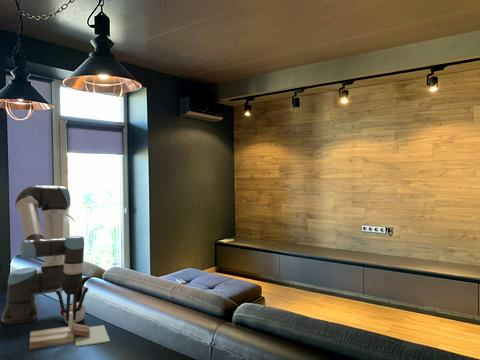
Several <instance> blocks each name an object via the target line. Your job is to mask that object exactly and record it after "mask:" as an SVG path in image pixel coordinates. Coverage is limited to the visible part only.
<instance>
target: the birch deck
mask: <svg viewBox="0 0 480 360" xmlns="http://www.w3.org/2000/svg"><path fill="white" fill-rule="evenodd" d="M29 336H30V337H29V350H32V349H40V348H46V347H52V346H58V345H65V344H72V343H75V338H74V334H72V333H71V329H68V326H61V327H55V328H53V327H52V328H47V329H39V330H37V329H36V330H32V331H30V334H29Z"/></svg>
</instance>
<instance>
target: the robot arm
mask: <svg viewBox="0 0 480 360" xmlns="http://www.w3.org/2000/svg"><path fill="white" fill-rule="evenodd" d="M70 207H71V195H70V190H69V189H68V188H67V187H66V186H61V185H38V184H37V185H36V184H35V185H31V186H27V187H25V188H24V189H23V190H21V191H20V192H19V194H18V195H17V197H16V198H15V209H16V210H17V211H18V213H19V217H20V224H21V228H22V234H23V239H24V240H22V241H20V246H19V254H20V256H21V257H20V258H23V259H34V258H44V262H43V264H41V267H40V269H38V268H37V267H35V266H33V267H32V266H31V267H29V266H28V267H24V268H19V269H16V270H14V271H12V272H10V273H9V274H8V278H7V279H8V280H7V297H6V300H7V301H6V306H5V308H4V309H3V310H4V311H3V312H2V315H1V322H2V323H3V324H5V325H21V324H26V323H30V322H34V321H35V320H36V319H38V318H39V315H40V314H39V313H40V311H39V308H38V306H37V305H38V304H37V301H36V297H37V295H46V294H51V293H55V294H56V295H57V297H58V302H59V305H60V306H59V307H60V312H61V311H62V313H66V321H69V323H67V324H68V326H67V327H68V329H72V326H73V320H75V319H76V312H77V311H80V310H81V307H82V304H84V299H85V298H86V294H87V293H88V291H89V287H88V286H85V285H84V283H83V274H84V273H83V270H84V255H85V254H84V252H85V250H84V249H85V237H84V236H82V235H69V236H64V214H65V213H66V212H67V211H68V210H67V209H69V208H70ZM38 209H41V214H43V215H44V232H43V227H42V223H41V219H40V214H39V210H38ZM80 291H81V295H80V298H79V301H78V300H77V298H78V293H80ZM63 292H64V293H65V294H66V306H65V304H64V299H63V295H62V294H63ZM71 295H72V296H73V301H72V304H73V311H72V312H70V304H71ZM77 302H79V304H78V307H77V308H76V305H77ZM65 307H66V309H65Z"/></svg>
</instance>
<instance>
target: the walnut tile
mask: <svg viewBox="0 0 480 360" xmlns="http://www.w3.org/2000/svg"><path fill="white" fill-rule="evenodd" d="M89 327H90V326H89V325H85V324H81V323H80V324H79V323H76V324H75V323H73V326H72V329H71V333H72V334H75V335H81V336H87V337H89V334H90V329H89Z"/></svg>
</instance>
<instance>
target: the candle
mask: <svg viewBox="0 0 480 360" xmlns="http://www.w3.org/2000/svg"><path fill="white" fill-rule="evenodd" d="M78 304H79V301H77V305H76V308H77V307H78ZM64 308H65V309H66V306H64ZM72 311H73V302H72V303H71V302H70V312H72ZM85 314H86V306H85V304H84V303H83V304H82V307H81V310H80V311H77V312H76V319H75V320H73V323H75V324H78V323H79V322H81V321H83V319H84V317H85ZM60 315H62V317H63V319H64V320H63V321H64V322H65V324H68V323H69V321H66V313H62V311H61V310H60Z"/></svg>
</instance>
